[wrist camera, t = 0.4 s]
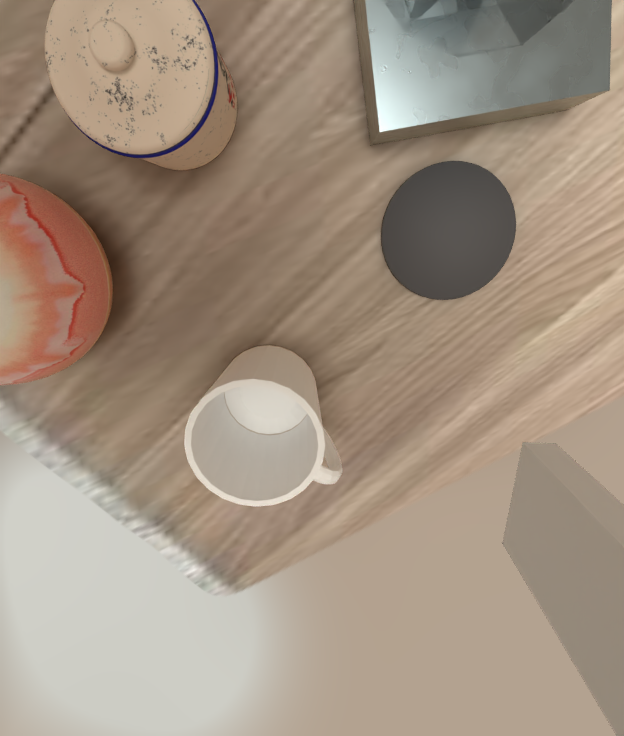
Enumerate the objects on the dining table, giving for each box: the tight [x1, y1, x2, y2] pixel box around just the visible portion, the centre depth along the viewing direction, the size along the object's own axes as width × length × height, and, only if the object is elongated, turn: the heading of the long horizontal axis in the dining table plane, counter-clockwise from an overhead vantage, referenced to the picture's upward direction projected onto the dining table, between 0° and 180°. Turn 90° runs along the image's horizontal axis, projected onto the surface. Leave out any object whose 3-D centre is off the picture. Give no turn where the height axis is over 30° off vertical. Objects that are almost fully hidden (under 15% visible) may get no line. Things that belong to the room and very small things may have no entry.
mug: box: [184, 345, 343, 507], centre depth 34 cm, size 11×9×10 cm
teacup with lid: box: [45, 0, 237, 170], centre depth 27 cm, size 12×9×12 cm
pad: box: [381, 161, 516, 300], centre depth 35 cm, size 10×10×1 cm
